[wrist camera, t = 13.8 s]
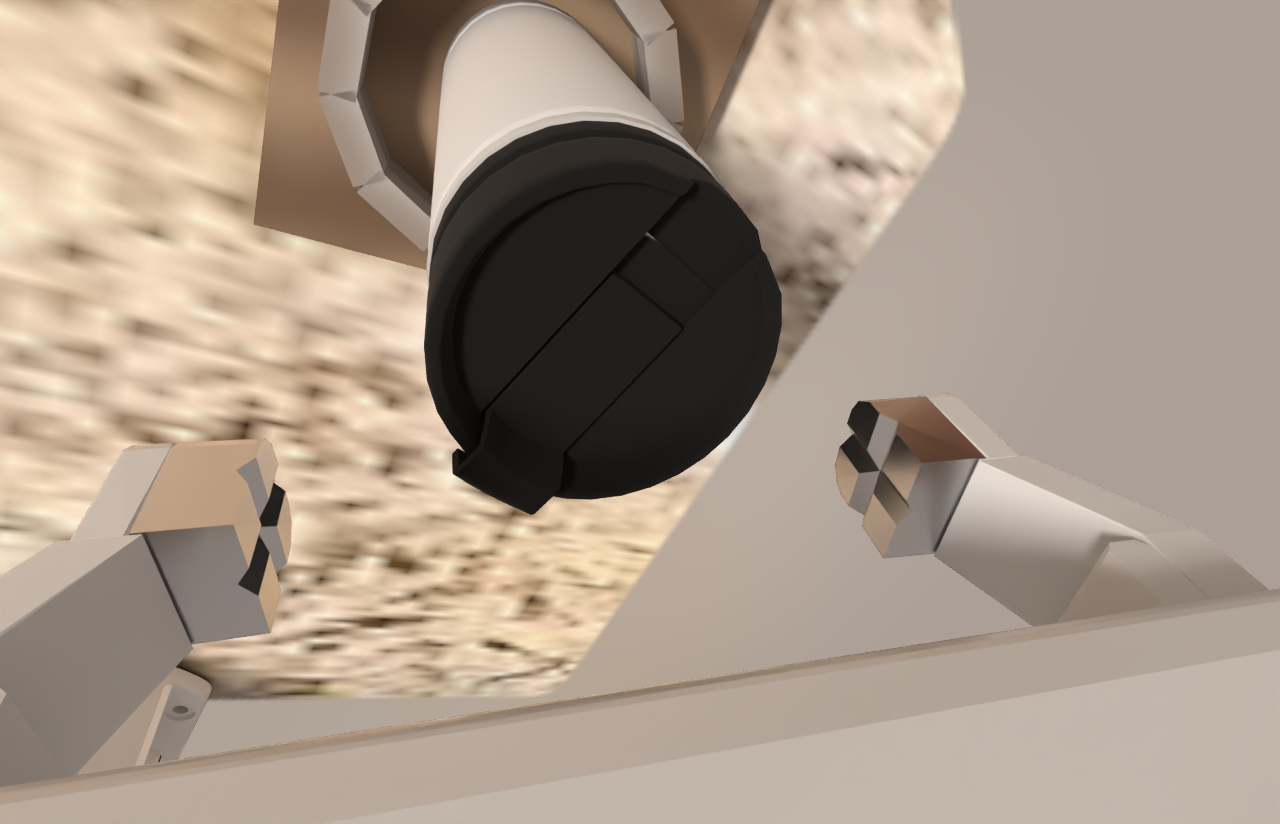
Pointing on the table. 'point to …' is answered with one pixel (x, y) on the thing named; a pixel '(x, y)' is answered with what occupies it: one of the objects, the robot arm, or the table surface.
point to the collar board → (438, 103)
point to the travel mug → (581, 273)
